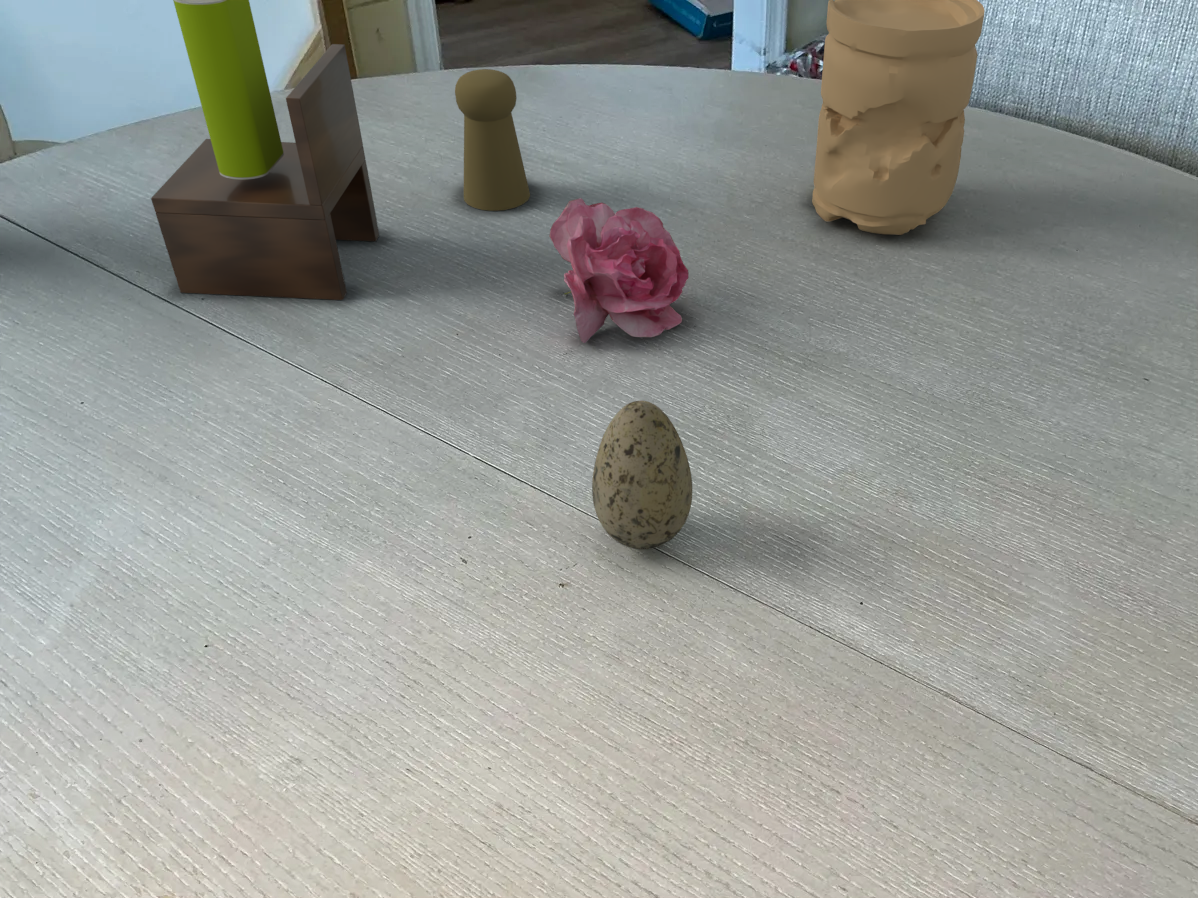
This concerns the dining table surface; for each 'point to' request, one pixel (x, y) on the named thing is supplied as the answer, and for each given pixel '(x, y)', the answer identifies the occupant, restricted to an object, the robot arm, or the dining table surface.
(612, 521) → the decorative egg
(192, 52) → the vape
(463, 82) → the brown peg doll
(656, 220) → the flower
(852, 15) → the container
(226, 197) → the wooden toy chair
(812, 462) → the dining table surface
